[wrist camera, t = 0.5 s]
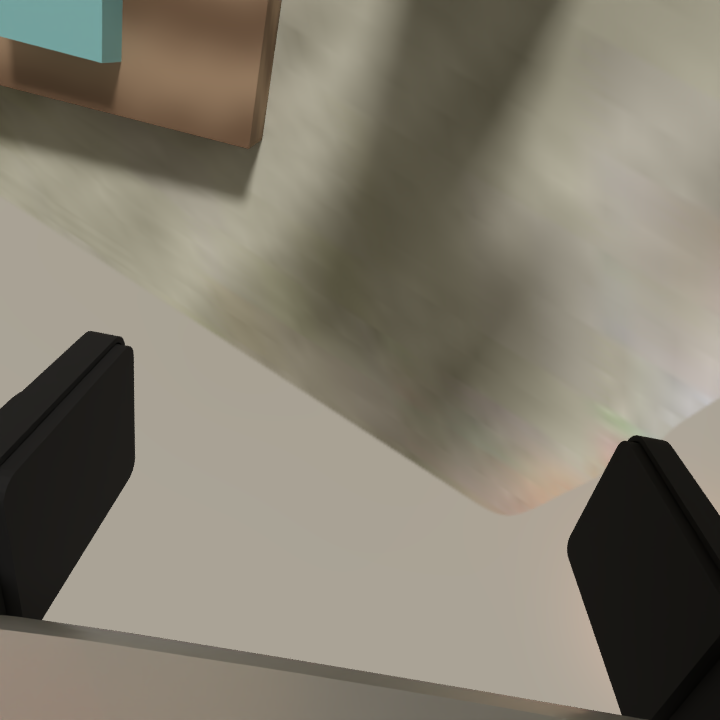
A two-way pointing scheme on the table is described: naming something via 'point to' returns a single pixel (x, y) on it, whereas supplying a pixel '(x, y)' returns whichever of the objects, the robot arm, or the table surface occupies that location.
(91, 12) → the teal rectangular block
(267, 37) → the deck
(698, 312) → the table surface
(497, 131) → the table surface
